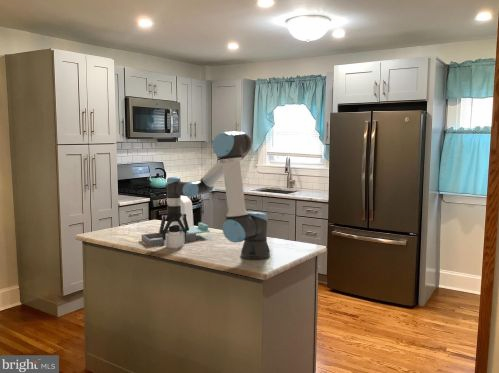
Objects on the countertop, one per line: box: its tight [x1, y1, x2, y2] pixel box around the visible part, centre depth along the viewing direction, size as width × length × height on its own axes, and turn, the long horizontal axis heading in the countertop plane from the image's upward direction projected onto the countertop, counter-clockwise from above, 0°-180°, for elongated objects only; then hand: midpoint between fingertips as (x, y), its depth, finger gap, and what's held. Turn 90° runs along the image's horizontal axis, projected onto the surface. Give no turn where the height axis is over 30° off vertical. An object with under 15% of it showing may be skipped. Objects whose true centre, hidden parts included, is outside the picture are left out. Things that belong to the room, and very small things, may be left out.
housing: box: [140, 228, 197, 248], centre depth 267 cm, size 16×28×5 cm, turn 121°
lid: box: [182, 221, 210, 235], centre depth 275 cm, size 12×13×4 cm
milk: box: [170, 196, 194, 228], centre depth 291 cm, size 12×12×26 cm
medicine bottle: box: [165, 225, 184, 249], centre depth 253 cm, size 7×7×12 cm
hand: (174, 244), depth 254 cm, fingers closed on medicine bottle, 9 cm apart
